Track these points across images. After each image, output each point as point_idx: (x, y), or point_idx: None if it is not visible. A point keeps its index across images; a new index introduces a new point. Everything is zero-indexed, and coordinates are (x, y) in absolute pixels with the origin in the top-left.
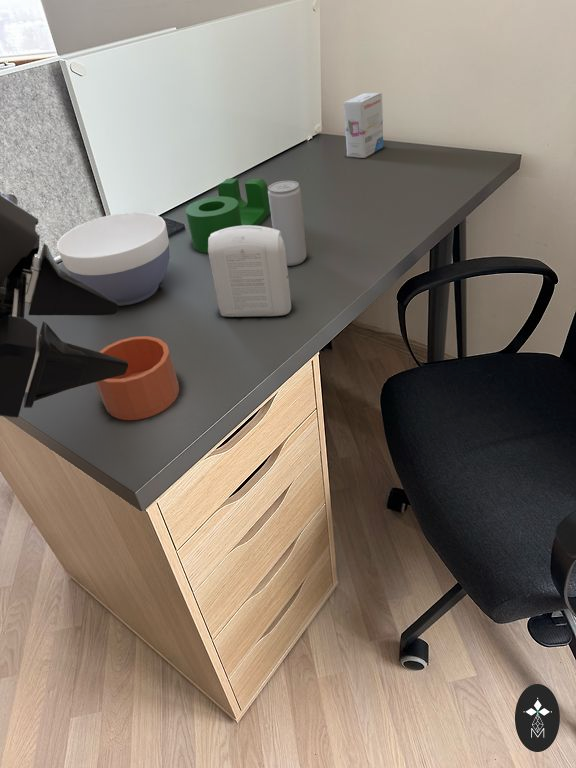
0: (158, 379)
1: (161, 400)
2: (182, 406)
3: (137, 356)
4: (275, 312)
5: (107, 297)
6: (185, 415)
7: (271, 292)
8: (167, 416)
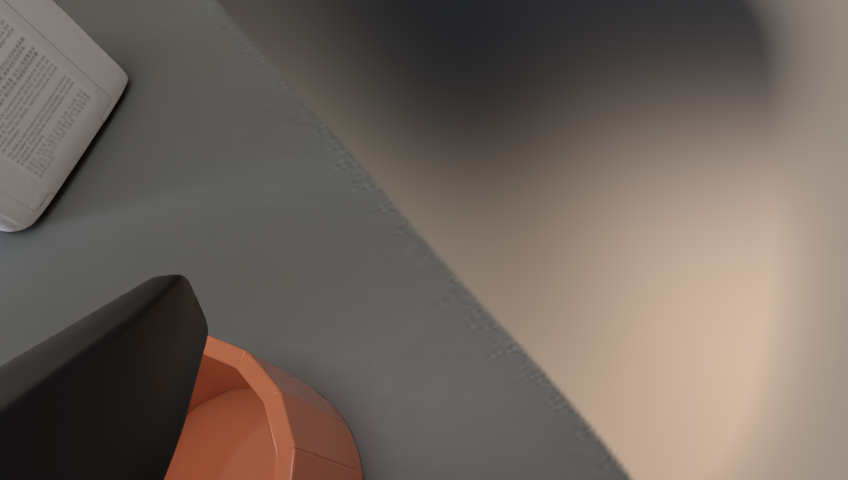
0: (296, 396)
1: (336, 424)
2: (359, 375)
3: None
4: (112, 92)
5: (108, 306)
6: (404, 370)
7: (66, 54)
8: (384, 425)
